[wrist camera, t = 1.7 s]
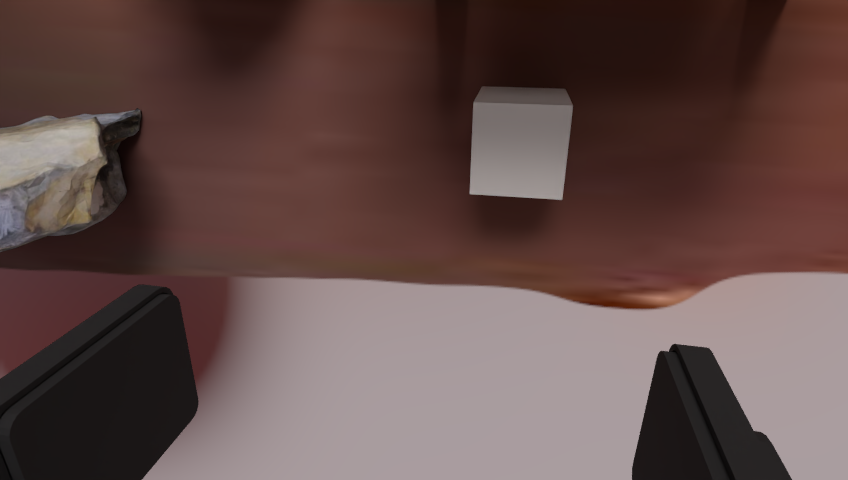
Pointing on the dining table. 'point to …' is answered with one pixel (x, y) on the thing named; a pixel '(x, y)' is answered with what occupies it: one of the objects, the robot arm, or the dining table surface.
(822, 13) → the dining table surface
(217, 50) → the dining table surface
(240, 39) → the dining table surface
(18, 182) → the fossil rock
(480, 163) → the gray cube
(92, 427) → the robot arm
